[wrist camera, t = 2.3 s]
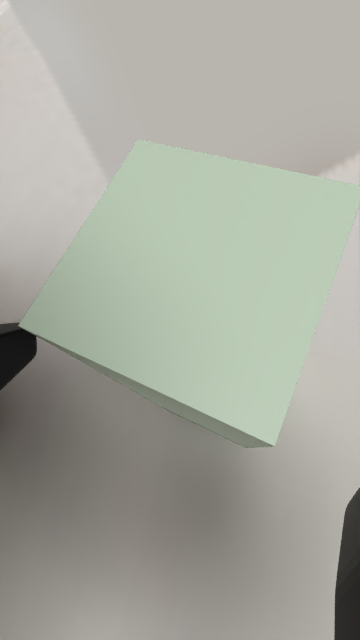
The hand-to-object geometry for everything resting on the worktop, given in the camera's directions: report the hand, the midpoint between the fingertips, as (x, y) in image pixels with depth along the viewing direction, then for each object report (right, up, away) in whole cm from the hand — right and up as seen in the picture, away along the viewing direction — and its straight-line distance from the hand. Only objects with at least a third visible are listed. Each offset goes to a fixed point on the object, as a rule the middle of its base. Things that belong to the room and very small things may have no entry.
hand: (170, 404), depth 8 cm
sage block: (+2, -2, +9) cm, 10 cm away
